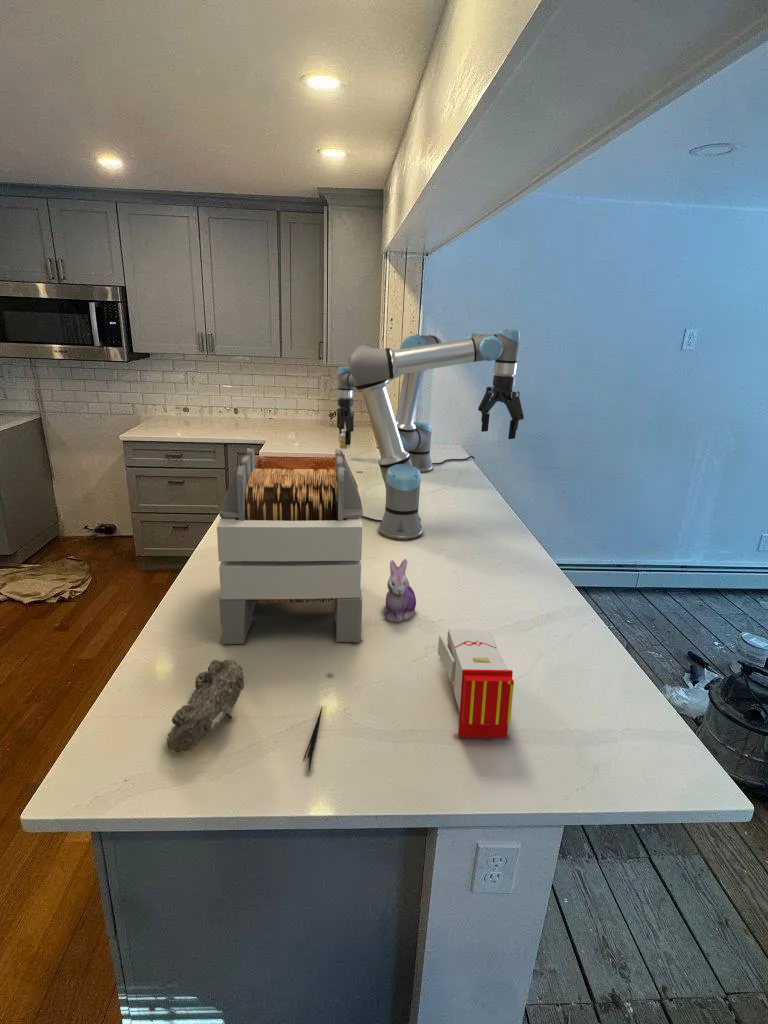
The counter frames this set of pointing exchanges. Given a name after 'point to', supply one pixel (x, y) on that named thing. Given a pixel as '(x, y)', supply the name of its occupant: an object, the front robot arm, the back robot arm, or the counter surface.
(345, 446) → the supplement bottle
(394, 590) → the figurine
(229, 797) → the counter surface
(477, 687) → the toy
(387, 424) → the front robot arm
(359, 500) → the transformer
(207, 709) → the fossil
